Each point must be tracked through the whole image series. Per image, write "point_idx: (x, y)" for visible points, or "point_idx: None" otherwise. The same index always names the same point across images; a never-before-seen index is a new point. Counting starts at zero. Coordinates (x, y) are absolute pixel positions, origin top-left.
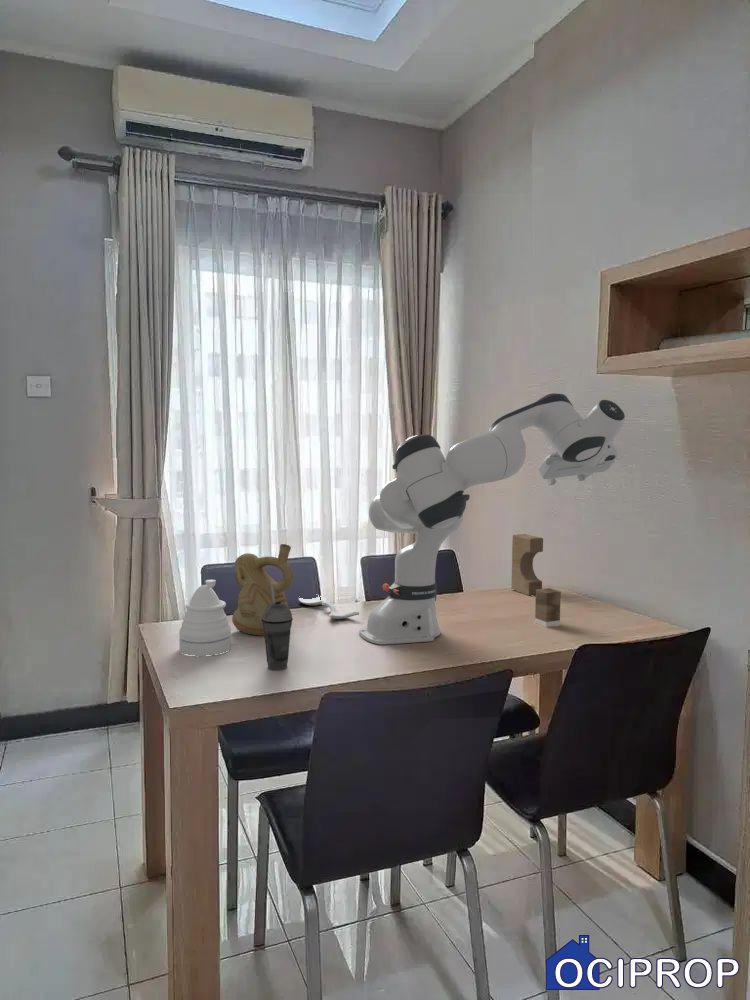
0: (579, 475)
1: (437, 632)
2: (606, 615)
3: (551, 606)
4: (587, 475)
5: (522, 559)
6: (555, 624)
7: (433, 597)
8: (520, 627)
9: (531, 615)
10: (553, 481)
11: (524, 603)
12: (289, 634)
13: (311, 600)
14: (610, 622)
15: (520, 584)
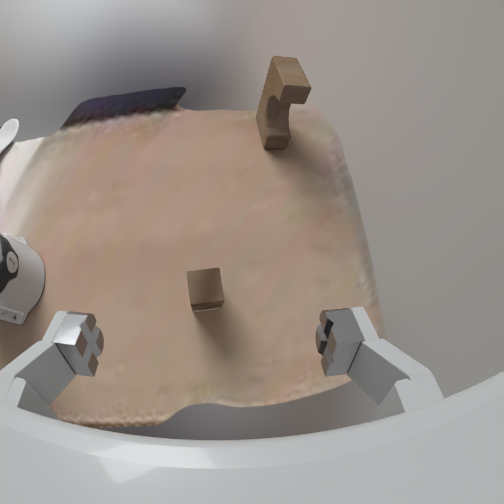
0: (328, 344)
1: (32, 304)
2: (320, 274)
3: (203, 306)
4: (366, 392)
5: (272, 98)
6: (211, 309)
7: (1, 291)
8: (154, 301)
9: (207, 243)
10: (71, 377)
11: (235, 179)
12: None
13: (8, 132)
14: (306, 312)
15: (261, 124)
